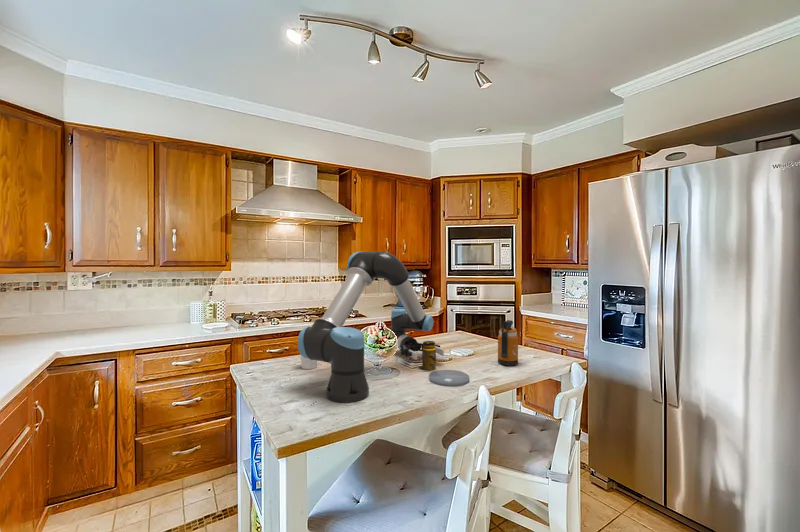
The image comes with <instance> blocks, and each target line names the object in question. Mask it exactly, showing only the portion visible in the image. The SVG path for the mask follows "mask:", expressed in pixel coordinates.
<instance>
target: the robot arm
mask: <svg viewBox="0 0 800 532" xmlns="http://www.w3.org/2000/svg"><path fill="white" fill-rule="evenodd" d="M346 271H347V272H346V273H347V278H346V279H345V281H344V283H342V286H341V287H340V288H339V290H338V292H337V293H336V295H335V296H334V297H333V300H332V301H331V303H330V304H329V306H327V309H326V310H325V312H324V314H323V315H322V317H321V318H320V317H319V318H316V320H315V321H314V322H313V324H312V325H311V326H307V327H304V328H302V329H301V330H300V332H299V334H298V337H297V349H298V353H299V354H301V355H302V356H303V357H305V358H308V359H311V360H317V362H322V363H328V364H329V363H330V368H331V369H330V371H331V372H330V377H329V380H328V384H327V386H326V389H325V390H326V391H325V397H326V398H327V399H328V400H329V401H332V402H337V403H354V402H359V401H362V400H364V399H366V398H367V397H369V394H370V386H369V383H368V380H367V378H366V375H365V345H366V344H365V338H364V337H365V336H364V333H363V332H362V331H361V330H359V329H358V328H355V327H351V326H346V327H345V326H344V324H345V322H346V320H347V319H348V318H349V316H350V313H351V312H352V310H354V307H355V305H356V303H357V301H358V300H359V298H360V297H361V295H362V293H363V292H364V290H365V288H366V287H369V286H371V285H372V283H373V282H374V280H375V279H383V280H386V281H387V283H388V285H390V286H392V287H393V288H394V291H395V293H396V294H397V296H398V298H399V300H400V302H401V304H402V306H403V308H393V309H392V310H391V312H390V313H391V314H390V316H391V317H390V319H391V320H390V325H391V326H390V329H391V331H393V332H394V333H395V335H396V336H397V339H398V348H397V349H399V352H400V356H401V357H405V358H408V357H409V358H412V359H413V360H418V353H417V352H422V348H423V342H422V343H421V342H418V340H416V338H414V337H412V336H410V335H407V330H414V331H422V332H430V331H431V330H432V329H433V327H434V318H433V316H431V315H428V314H427V315H426V313H425V310H424V309H423V307H422V305H421V303H420V301H419V299H418V296H417V294H416V292H415V289H414V288H413V286H412V283H411V281H410V279H409V278H410V276H409V275H410V274H409V272H408V270H407V268H406V266H405V265H404V263H403V262H402V261H401V260H400V258H397V256H396V255H394V254H392V253H390V252H387V251H364V250H363V251H355V252H354V253H352V254H351V255H350V256H349V257H348V260H347V265H346ZM391 331H390V332H391ZM435 348H436V355H440V356H442V357H444V356H445V349H443V348H441V345H440V344H437V343H436V344H435ZM404 355H405V356H404Z"/></svg>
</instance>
